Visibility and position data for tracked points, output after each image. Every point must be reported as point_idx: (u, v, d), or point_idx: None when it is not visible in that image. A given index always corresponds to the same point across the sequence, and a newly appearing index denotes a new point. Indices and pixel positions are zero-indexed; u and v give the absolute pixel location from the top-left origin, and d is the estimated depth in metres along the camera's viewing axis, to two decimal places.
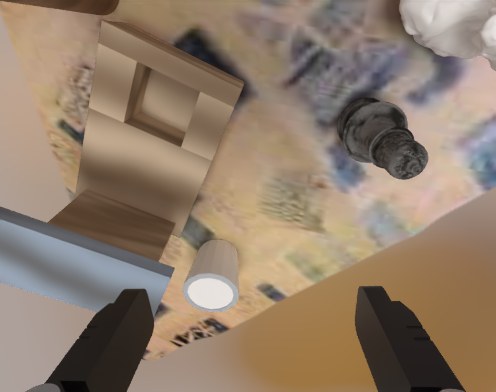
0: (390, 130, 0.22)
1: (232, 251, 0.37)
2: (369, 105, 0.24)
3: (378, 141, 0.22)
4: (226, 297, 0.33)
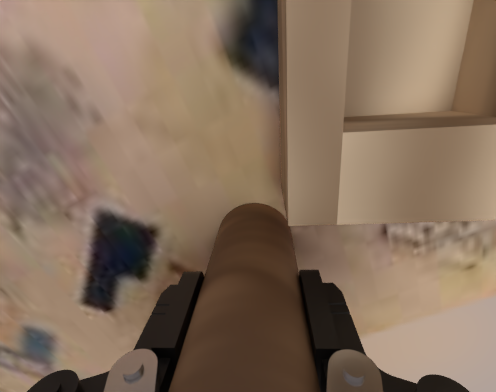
0: None
1: None
2: None
3: None
4: None
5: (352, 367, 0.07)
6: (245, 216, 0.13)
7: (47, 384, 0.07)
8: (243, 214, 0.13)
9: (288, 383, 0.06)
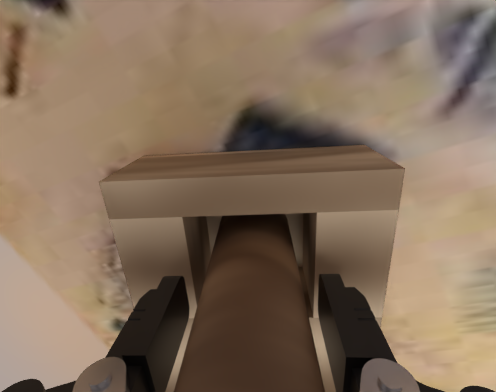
0: None
1: None
2: None
3: None
4: None
5: (388, 377, 0.06)
6: None
7: None
8: None
9: (289, 346, 0.07)
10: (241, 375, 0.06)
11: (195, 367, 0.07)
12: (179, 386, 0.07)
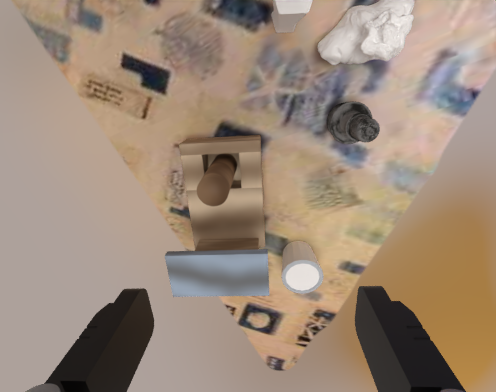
0: (352, 118, 0.35)
1: (305, 244, 0.49)
2: (337, 110, 0.38)
3: (349, 127, 0.35)
4: (314, 275, 0.45)
5: None
6: (221, 155, 0.43)
7: None
8: (220, 155, 0.43)
9: (223, 172, 0.36)
10: (213, 172, 0.35)
11: (205, 174, 0.36)
12: (202, 177, 0.36)
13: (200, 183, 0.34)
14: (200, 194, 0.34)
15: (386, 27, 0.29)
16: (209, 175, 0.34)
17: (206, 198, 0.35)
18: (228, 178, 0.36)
